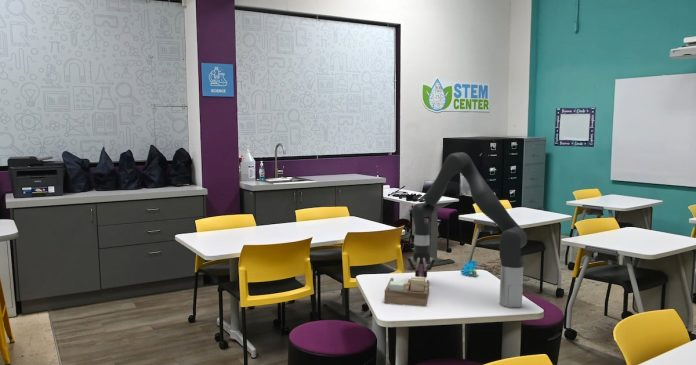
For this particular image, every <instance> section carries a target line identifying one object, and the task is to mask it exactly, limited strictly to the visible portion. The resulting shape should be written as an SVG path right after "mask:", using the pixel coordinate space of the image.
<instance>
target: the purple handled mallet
mask: <svg viewBox="0 0 696 365" xmlns="http://www.w3.org/2000/svg"><path fill="white" fill-rule="evenodd" d="M410 279H411V286H410V291H422V292H424V289H425V285H426V278H425V277H424V264H419V266H418V277H415V276H413V275H412V276H411V278H410Z"/></svg>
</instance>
